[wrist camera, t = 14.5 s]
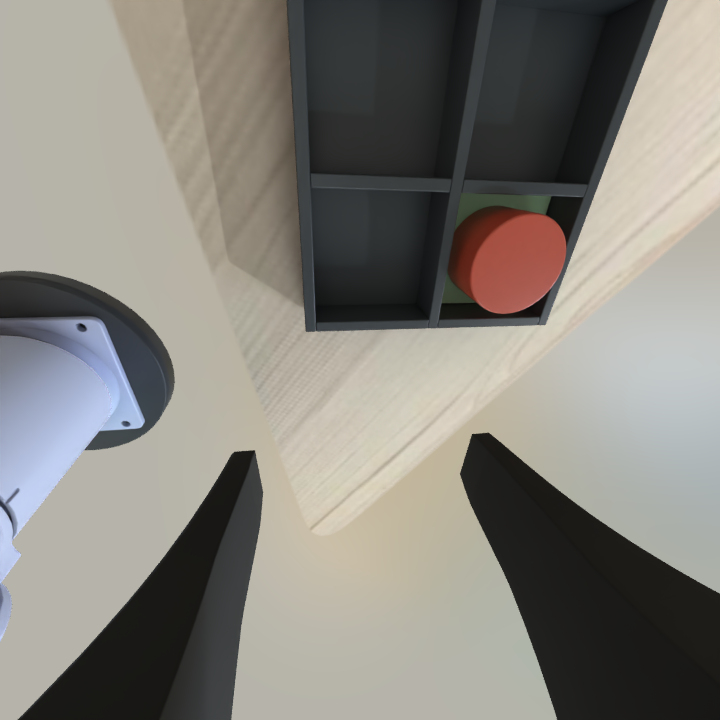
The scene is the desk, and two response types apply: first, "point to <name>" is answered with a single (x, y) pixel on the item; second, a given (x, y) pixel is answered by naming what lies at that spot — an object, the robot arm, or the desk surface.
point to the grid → (447, 140)
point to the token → (506, 257)
